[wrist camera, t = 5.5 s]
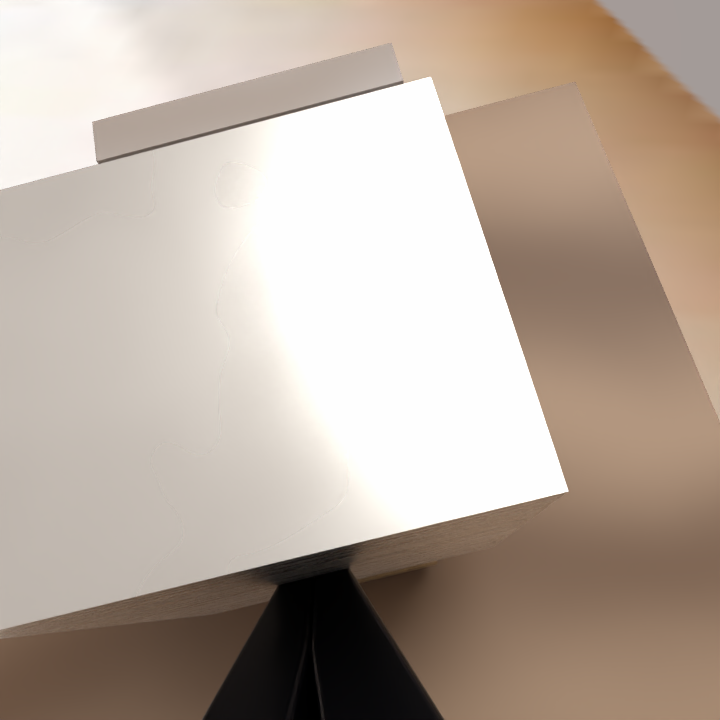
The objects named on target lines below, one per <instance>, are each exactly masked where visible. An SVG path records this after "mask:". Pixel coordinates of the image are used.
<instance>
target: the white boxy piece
mask: <svg viewBox="0 0 720 720" xmlns="http://www.w3.org/2000/svg"><path fill="white" fill-rule="evenodd" d="M567 492H568V489H567V486H566V483H565V479H564V476H563V473H562V470H561V467H560V464H559V461H558V458H557V455H556V452H555V449H554V446H553V443H552V440H551V437H550V434H549V431H548V428H547V425H546V422H545V419H544V416H543V413H542V410H541V407H540V404H539V401H538V398H537V395H536V392H535V389H534V386H533V383H532V380H531V377H530V374H529V371H528V368H527V365H526V362H525V359H524V356H523V353H522V350H521V347H520V344H519V341H518V338H517V335H516V332H515V329H514V326H513V323H512V320H511V317H510V314H509V311H508V308H507V305H506V302H505V299H504V296H503V293H502V290H501V287H500V284H499V281H498V278H497V275H496V272H495V269H494V266H493V263H492V260H491V257H490V254H489V251H488V248H487V245H486V242H485V239H484V236H483V233H482V229H481V226H480V223H479V220H478V217H477V214H476V211H475V208H474V205H473V202H472V199H471V196H470V193H469V190H468V187H467V184H466V181H465V178H464V175H463V172H462V169H461V166H460V163H459V160H458V157H457V154H456V151H455V148H454V145H453V142H452V139H451V136H450V133H449V130H448V127H447V124H446V121H445V118H444V115H443V112H442V109H441V106H440V103H439V100H438V97H437V94H436V91H435V88H434V85H433V82H432V79H431V77H428V78H425V79H421V80H417V81H413V82H409V83H406V84H402V85H398V86H394V87H390V88H386V89H383V90H379V91H375V92H371V93H367V94H364V95H360V96H356V97H352V98H348V99H345V100H341V101H337V102H333V103H329V104H326V105H322V106H318V107H314V108H310V109H307V110H303V111H299V112H295V113H291V114H288V115H284V116H280V117H276V118H272V119H269V120H265V121H261V122H257V123H253V124H250V125H246V126H242V127H238V128H234V129H231V130H227V131H223V132H219V133H215V134H212V135H208V136H204V137H200V138H196V139H193V140H189V141H185V142H181V143H177V144H173V145H170V146H166V147H162V148H158V149H154V150H151V151H147V152H143V153H139V154H135V155H132V156H128V157H124V158H120V159H116V160H113V161H109V162H105V163H101V164H97V165H94V166H90V167H86V168H82V169H78V170H75V171H71V172H67V173H63V174H59V175H56V176H52V177H48V178H44V179H40V180H37V181H33V182H29V183H25V184H21V185H18V186H14V187H10V188H6V189H2V190H0V639H3V638H12V637H21V636H29V635H38V634H47V633H56V632H64V631H73V630H82V629H90V628H99V627H108V626H116V625H125V624H134V623H143V622H151V621H160V620H169V619H177V618H186V617H195V616H203V615H212V614H218V613H222V612H226V611H230V610H234V609H238V608H243V607H247V606H251V605H255V604H259V603H263V602H267V601H269V600H270V598H271V597H272V595H273V593H274V591H275V590H276V588H277V586H278V585H280V584H285V583H289V582H293V581H297V580H301V579H305V578H310V577H315V576H318V575H322V574H326V573H330V572H334V571H338V570H342V569H347V568H350V569H351V571H352V572H353V574H354V576H355V577H356V579H357V580H358V582H359V583H362V582H366V581H370V580H375V579H379V578H383V577H387V576H391V575H395V574H399V573H403V572H408V571H412V570H416V569H420V568H424V567H428V566H432V565H437V560H441V559H445V558H449V557H453V556H457V555H462V554H466V553H470V552H474V551H478V550H482V549H486V548H491V547H494V546H495V545H497V544H498V543H499V542H501V541H502V540H503V539H505V538H506V537H507V536H509V535H510V534H511V533H513V532H514V531H516V530H517V529H518V528H520V527H521V526H522V525H524V524H525V523H526V522H528V521H529V520H530V519H532V518H533V517H534V516H536V515H537V514H539V513H540V512H541V511H543V510H544V509H545V508H547V507H548V506H549V505H551V504H552V503H553V502H555V501H556V500H557V499H559V498H560V497H561V496H563V495H564V494H566V493H567Z"/></svg>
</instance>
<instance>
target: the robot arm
mask: <svg viewBox="0 0 720 720" xmlns="http://www.w3.org/2000/svg"><path fill="white" fill-rule="evenodd" d="M202 720H444V718H443V717H442V715H441V713H440V712H439V710H438V709H437V707H436V705H435V704H434V702H433V701H432V699H431V697H430V696H429V694H428V693H427V691H426V689H425V688H424V686H423V685H422V683H421V681H420V680H419V678H418V677H417V675H416V673H415V672H414V670H413V669H412V667H411V665H410V664H409V662H408V661H407V659H406V657H405V656H404V654H403V653H402V651H401V649H400V648H399V646H398V645H397V643H396V641H395V640H394V638H393V637H392V635H391V633H390V632H389V630H388V629H387V627H386V625H385V624H384V622H383V621H382V619H381V617H380V616H379V614H378V613H377V611H376V609H375V608H374V606H373V605H372V603H371V601H370V600H369V598H368V596H367V595H366V593H365V592H364V590H363V588H362V587H361V585H360V584H359V582H358V580H357V579H356V577H355V576H354V574H353V572H352V571H351V569H350V568H347V569H342V570H338V571H334V572H330V573H326V574H322V575H318V576H315V577H310V578H305V579H301V580H297V581H293V582H289V583H285V584H280V585H278V586H277V588H276V590H275V591H274V593H273V595H272V597H271V598H270V600H269V602H268V604H267V605H266V607H265V609H264V611H263V612H262V614H261V616H260V618H259V620H258V621H257V623H256V625H255V627H254V628H253V630H252V632H251V634H250V635H249V637H248V639H247V641H246V642H245V644H244V646H243V648H242V649H241V651H240V653H239V655H238V656H237V658H236V660H235V662H234V664H233V665H232V667H231V669H230V671H229V672H228V674H227V676H226V678H225V679H224V681H223V683H222V685H221V686H220V688H219V690H218V692H217V693H216V695H215V697H214V699H213V701H212V702H211V704H210V706H209V708H208V709H207V711H206V713H205V715H204V716H203V718H202Z"/></svg>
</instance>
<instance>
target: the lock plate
mask: <svg viewBox="0 0 720 720" xmlns="http://www.w3.org/2000/svg"><path fill="white" fill-rule="evenodd" d="M402 84H403V78H402V75H401V72H400V68H399V65H398V62H397V59H396V56H395V52H394V49H393V46H392V43H388V44H385V45H381V46H377V47H373V48H370V49H366V50H362V51H358V52H354V53H351V54H347V55H343V56H339V57H336V58H332V59H328V60H324V61H320V62H317V63H313V64H309V65H305V66H302V67H298V68H294V69H290V70H286V71H283V72H279V73H275V74H271V75H268V76H264V77H260V78H256V79H253V80H249V81H245V82H241V83H237V84H234V85H230V86H226V87H222V88H219V89H215V90H211V91H207V92H203V93H200V94H196V95H192V96H188V97H185V98H181V99H177V100H173V101H169V102H166V103H162V104H158V105H154V106H151V107H147V108H143V109H139V110H135V111H132V112H128V113H124V114H120V115H117V116H113V117H109V118H105V119H101V120H98V121H94V122H92V123H93V133H94V142H95V151H96V161H97V162H98V164H101V163H105V162H109V161H113V160H116V159H120V158H124V157H128V156H132V155H135V154H139V153H143V152H147V151H151V150H154V149H158V148H162V147H166V146H170V145H173V144H177V143H181V142H185V141H189V140H193V139H196V138H200V137H204V136H208V135H212V134H215V133H219V132H223V131H227V130H231V129H234V128H238V127H242V126H246V125H250V124H253V123H257V122H261V121H265V120H269V119H272V118H276V117H280V116H284V115H288V114H291V113H295V112H299V111H303V110H307V109H310V108H314V107H318V106H322V105H326V104H329V103H333V102H337V101H341V100H345V99H348V98H352V97H356V96H360V95H364V94H367V93H371V92H375V91H379V90H383V89H386V88H390V87H394V86H398V85H402ZM444 118H445V121H446V124H447V127H448V130H449V133H450V136H451V139H452V142H453V145H454V148H455V151H456V154H457V157H458V160H459V163H460V166H461V169H462V172H463V175H464V178H465V181H466V184H467V187H468V190H469V193H470V196H471V199H472V202H473V205H474V208H475V211H476V214H477V217H478V220H479V223H480V226H481V229H482V233H483V236H484V239H485V242H486V245H487V248H488V251H489V254H490V257H491V260H492V263H493V266H494V269H495V272H496V275H497V278H498V281H499V284H500V287H501V290H502V293H503V296H504V299H505V302H506V305H507V308H508V311H509V314H510V317H511V320H512V323H513V326H514V329H515V332H516V335H517V338H518V341H519V344H520V347H521V350H522V353H523V356H524V359H525V362H526V365H527V368H528V371H529V374H530V377H531V380H532V383H533V386H534V389H535V392H536V395H537V398H538V401H539V404H540V407H541V410H542V413H543V416H544V419H545V422H546V425H547V428H548V431H549V434H550V437H551V440H552V443H553V446H554V449H555V452H556V455H557V458H558V461H559V464H560V467H561V470H562V473H563V476H564V479H565V483H566V486H567V489H568V492H567V493H566V494H564V495H563V496H561V497H560V498H559V499H557V500H556V501H555V502H553V503H552V504H551V505H549V506H548V507H547V508H545V509H544V510H543V511H541V512H540V513H539V514H537V515H536V516H534V517H533V518H532V519H530V520H529V521H528V522H526V523H525V524H524V525H522V526H521V527H520V528H518V529H517V530H516V531H514V532H513V533H511V534H510V535H509V536H507V537H506V538H505V539H503V540H502V541H501V542H499V543H498V544H497V545H495V546H494V547H491V548H486V549H482V550H478V551H474V552H470V553H466V554H462V555H457V556H453V557H449V558H445V559H441V560H437V565H432V566H428V567H424V568H420V569H416V570H412V571H408V572H403V573H399V574H395V575H391V576H387V577H383V578H379V579H375V580H370V581H366V582H362V583H359V584H360V585H361V587H362V588H363V590H364V592H365V593H366V595H367V596H368V598H369V600H370V601H371V603H372V605H373V606H374V608H375V609H376V611H377V613H378V614H379V616H380V617H381V619H382V621H383V622H384V624H385V625H386V627H387V629H388V630H389V632H390V633H391V635H392V637H393V638H394V640H395V641H396V643H397V645H398V646H399V648H400V649H401V651H402V653H403V654H404V656H405V657H406V659H407V661H408V662H409V664H410V665H411V667H412V669H413V670H414V672H415V673H416V675H417V677H418V678H419V680H420V681H421V683H422V685H423V686H424V688H425V689H426V691H427V693H428V694H429V696H430V697H431V699H432V701H433V702H434V704H435V705H436V707H437V709H438V710H439V712H440V713H441V715H442V717H443V718H444V720H720V421H719V419H718V417H717V414H716V412H715V409H714V407H713V405H712V402H711V400H710V398H709V395H708V393H707V391H706V388H705V386H704V384H703V381H702V379H701V377H700V374H699V372H698V370H697V367H696V365H695V362H694V360H693V358H692V355H691V353H690V351H689V348H688V346H687V344H686V341H685V339H684V337H683V334H682V332H681V330H680V327H679V325H678V322H677V320H676V318H675V315H674V313H673V311H672V308H671V306H670V304H669V301H668V299H667V297H666V294H665V292H664V290H663V287H662V285H661V283H660V280H659V278H658V275H657V273H656V271H655V268H654V266H653V264H652V261H651V259H650V257H649V254H648V252H647V250H646V247H645V245H644V243H643V240H642V238H641V236H640V233H639V231H638V228H637V226H636V224H635V221H634V219H633V217H632V214H631V212H630V210H629V207H628V205H627V203H626V200H625V198H624V196H623V193H622V191H621V188H620V186H619V184H618V181H617V179H616V177H615V174H614V172H613V170H612V167H611V165H610V163H609V160H608V158H607V156H606V153H605V151H604V149H603V146H602V144H601V141H600V139H599V137H598V134H597V132H596V130H595V127H594V125H593V123H592V120H591V118H590V116H589V113H588V111H587V109H586V106H585V104H584V101H583V99H582V97H581V94H580V92H579V90H578V87H577V85H576V83H575V82H572V83H568V84H565V85H561V86H557V87H553V88H549V89H545V90H542V91H538V92H534V93H530V94H526V95H522V96H519V97H515V98H511V99H507V100H503V101H500V102H496V103H492V104H488V105H484V106H480V107H477V108H473V109H469V110H465V111H461V112H457V113H454V114H450V115H446V116H444ZM268 602H269V601H267V602H263V603H259V604H255V605H251V606H247V607H243V608H238V609H234V610H230V611H226V612H222V613H218V614H212V615H203V616H195V617H186V618H177V619H169V620H160V621H151V622H143V623H134V624H125V625H116V626H108V627H99V628H90V629H82V630H73V631H64V632H56V633H47V634H38V635H29V636H21V637H12V638H3V639H0V720H202V718H203V716H204V715H205V713H206V711H207V709H208V708H209V706H210V704H211V702H212V701H213V699H214V697H215V695H216V693H217V692H218V690H219V688H220V686H221V685H222V683H223V681H224V679H225V678H226V676H227V674H228V672H229V671H230V669H231V667H232V665H233V664H234V662H235V660H236V658H237V656H238V655H239V653H240V651H241V649H242V648H243V646H244V644H245V642H246V641H247V639H248V637H249V635H250V634H251V632H252V630H253V628H254V627H255V625H256V623H257V621H258V620H259V618H260V616H261V614H262V612H263V611H264V609H265V607H266V605H267V604H268Z"/></svg>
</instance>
